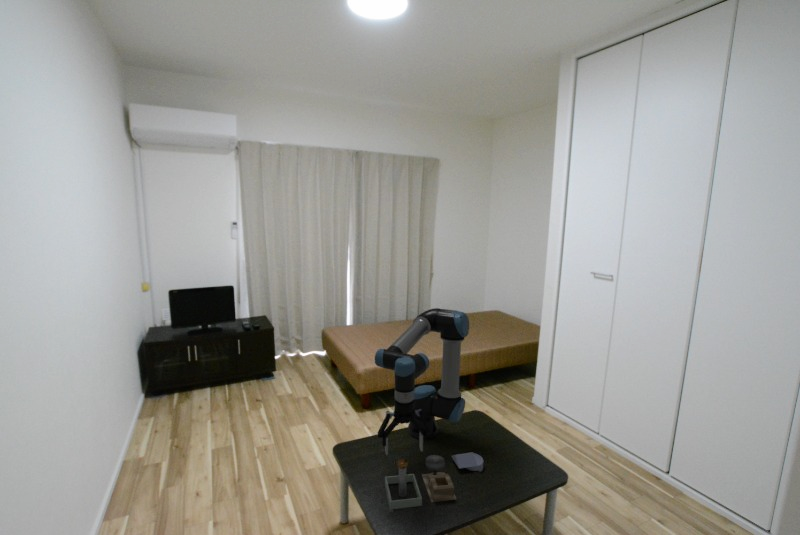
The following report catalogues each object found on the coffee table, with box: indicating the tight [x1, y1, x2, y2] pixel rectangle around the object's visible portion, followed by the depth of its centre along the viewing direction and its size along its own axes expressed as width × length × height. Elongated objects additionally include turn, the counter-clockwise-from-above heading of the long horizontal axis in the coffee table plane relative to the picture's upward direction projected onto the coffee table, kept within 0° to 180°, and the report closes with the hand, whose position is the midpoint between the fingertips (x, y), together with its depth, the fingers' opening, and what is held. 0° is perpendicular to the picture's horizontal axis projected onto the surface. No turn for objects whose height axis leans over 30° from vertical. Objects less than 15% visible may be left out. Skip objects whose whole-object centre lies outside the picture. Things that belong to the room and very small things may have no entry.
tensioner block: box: [421, 454, 457, 503], centre depth 149 cm, size 17×10×9 cm, turn 10°
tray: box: [384, 473, 423, 513], centre depth 144 cm, size 14×12×4 cm
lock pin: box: [396, 458, 409, 498], centre depth 144 cm, size 4×4×13 cm
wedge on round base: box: [451, 452, 484, 473], centre depth 163 cm, size 9×7×13 cm
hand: (403, 451), depth 143 cm, fingers open, 13 cm apart
